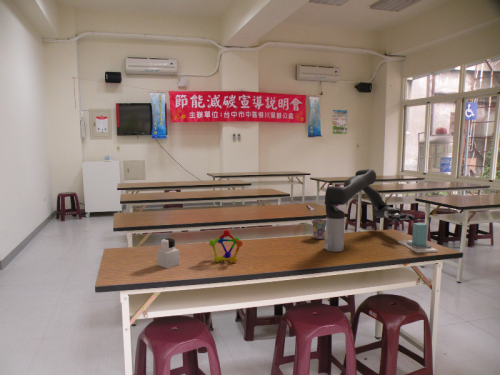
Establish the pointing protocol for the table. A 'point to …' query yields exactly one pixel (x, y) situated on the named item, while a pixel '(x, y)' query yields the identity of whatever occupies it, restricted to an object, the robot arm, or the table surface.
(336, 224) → the robot arm
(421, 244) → the pillar
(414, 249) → the baseplate
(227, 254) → the educational toy
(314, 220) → the mug
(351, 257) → the table surface
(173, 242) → the grey block with knob
